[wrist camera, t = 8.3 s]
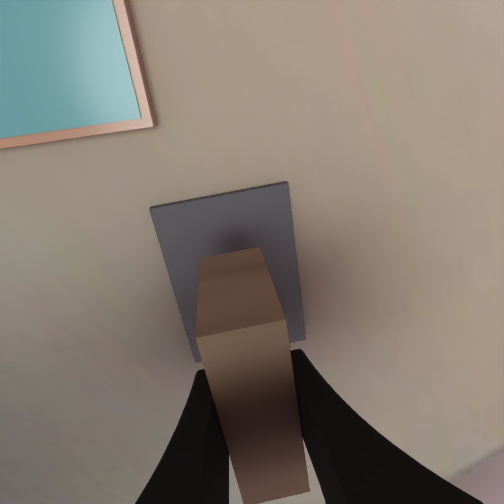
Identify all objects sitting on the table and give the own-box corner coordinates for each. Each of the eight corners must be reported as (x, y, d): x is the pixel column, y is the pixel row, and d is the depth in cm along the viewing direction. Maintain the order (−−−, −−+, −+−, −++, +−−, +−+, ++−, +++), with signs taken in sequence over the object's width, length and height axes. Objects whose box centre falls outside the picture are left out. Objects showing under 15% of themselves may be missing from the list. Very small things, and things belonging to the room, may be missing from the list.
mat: (304, 335, 22) (305, 339, 21) (195, 358, 21) (195, 362, 21) (286, 181, 17) (288, 183, 17) (150, 206, 17) (149, 209, 17)
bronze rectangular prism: (282, 388, 17) (309, 491, 13) (234, 398, 17) (244, 506, 13) (259, 246, 14) (286, 319, 9) (198, 258, 14) (195, 338, 9)
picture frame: (152, 126, 14) (91, -133, 11) (-41, 154, 14) (-168, -106, 11) (158, 124, 16) (105, -104, 13) (-16, 148, 16) (-118, -80, 12)
